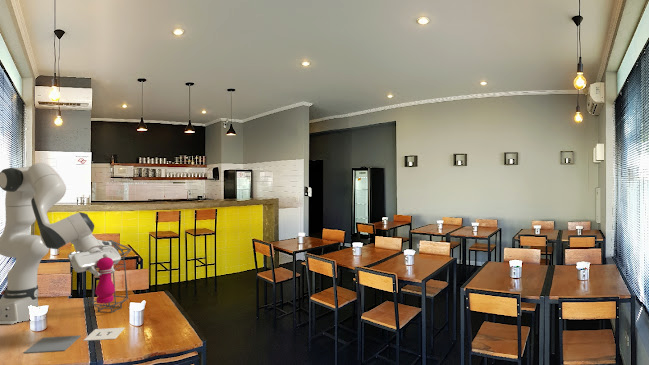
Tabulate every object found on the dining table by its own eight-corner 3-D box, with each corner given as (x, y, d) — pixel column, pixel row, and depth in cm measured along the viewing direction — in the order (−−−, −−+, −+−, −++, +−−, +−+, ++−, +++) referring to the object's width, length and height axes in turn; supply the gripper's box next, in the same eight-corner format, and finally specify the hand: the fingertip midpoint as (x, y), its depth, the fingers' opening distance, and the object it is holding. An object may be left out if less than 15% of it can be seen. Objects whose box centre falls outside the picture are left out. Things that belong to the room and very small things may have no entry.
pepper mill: (106, 304, 162) (106, 255, 161) (91, 303, 163) (91, 255, 163) (118, 299, 169) (118, 252, 168) (104, 298, 170) (104, 251, 170)
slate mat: (23, 353, 147) (23, 352, 147) (43, 338, 161) (43, 337, 161) (64, 350, 150) (64, 349, 150) (80, 336, 163) (80, 335, 163)
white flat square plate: (83, 340, 159) (83, 340, 159) (95, 329, 171) (95, 329, 171) (115, 338, 161) (115, 338, 161) (124, 328, 173) (124, 327, 173)
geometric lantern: (133, 305, 203) (134, 238, 202) (113, 317, 188) (113, 244, 186) (106, 303, 206) (106, 237, 204) (83, 314, 190) (83, 242, 189)
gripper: (69, 248, 158) (87, 275, 155) (113, 241, 178) (129, 264, 174) (62, 258, 160) (79, 285, 157) (106, 250, 179) (122, 273, 176)
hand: (106, 274), depth 166 cm, fingers closed on pepper mill, 5 cm apart
